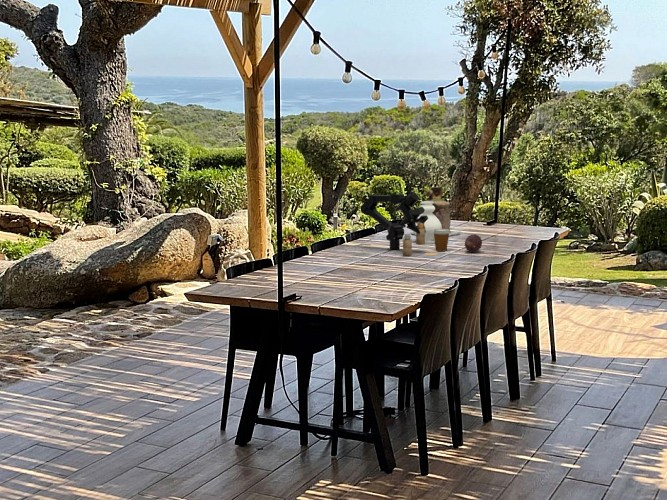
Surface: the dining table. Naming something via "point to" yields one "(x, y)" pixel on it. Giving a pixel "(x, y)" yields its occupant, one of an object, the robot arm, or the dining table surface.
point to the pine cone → (473, 243)
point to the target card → (425, 253)
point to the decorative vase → (429, 222)
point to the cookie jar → (440, 208)
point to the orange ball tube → (420, 237)
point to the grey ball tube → (407, 245)
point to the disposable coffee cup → (441, 239)
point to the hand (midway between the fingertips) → (422, 232)
